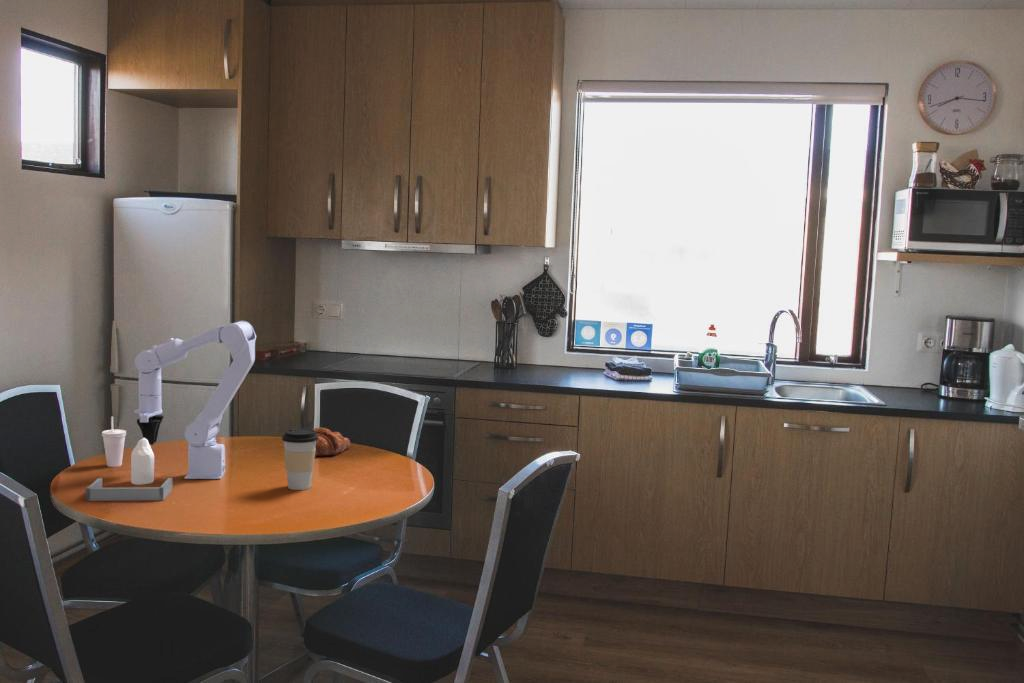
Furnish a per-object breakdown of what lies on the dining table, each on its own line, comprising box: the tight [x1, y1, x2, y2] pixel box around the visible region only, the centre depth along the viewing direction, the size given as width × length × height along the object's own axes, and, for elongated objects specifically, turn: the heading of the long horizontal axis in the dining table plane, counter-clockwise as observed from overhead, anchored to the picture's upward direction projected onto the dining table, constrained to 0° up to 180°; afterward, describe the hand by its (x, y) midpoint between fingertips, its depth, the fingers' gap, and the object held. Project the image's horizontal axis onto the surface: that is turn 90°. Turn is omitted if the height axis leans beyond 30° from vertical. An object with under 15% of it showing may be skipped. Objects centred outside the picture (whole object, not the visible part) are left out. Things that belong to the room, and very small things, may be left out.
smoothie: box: [101, 416, 127, 468], centre depth 254 cm, size 6×6×14 cm
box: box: [85, 477, 173, 502], centre depth 227 cm, size 18×10×3 cm, turn 98°
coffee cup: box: [281, 427, 319, 491], centre depth 239 cm, size 9×9×15 cm
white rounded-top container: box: [130, 437, 155, 486], centre depth 239 cm, size 6×12×6 cm
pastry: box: [312, 426, 351, 458], centre depth 279 cm, size 17×15×8 cm
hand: (150, 443), depth 247 cm, fingers open, 2 cm apart
